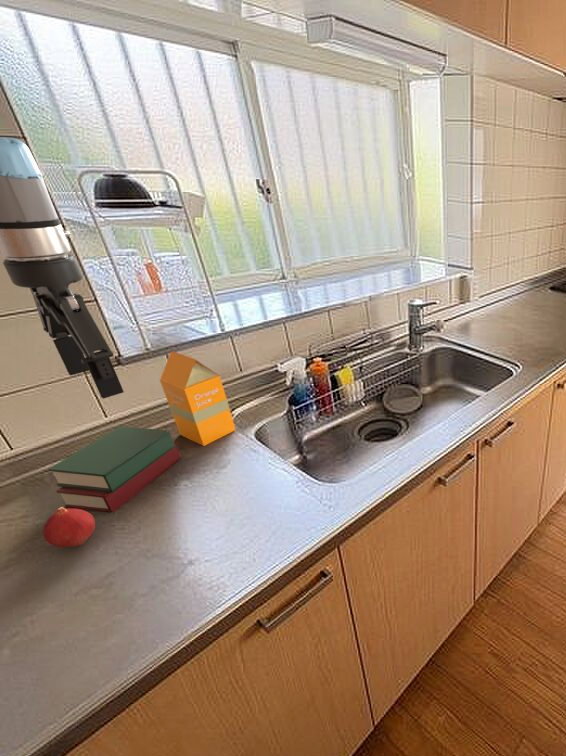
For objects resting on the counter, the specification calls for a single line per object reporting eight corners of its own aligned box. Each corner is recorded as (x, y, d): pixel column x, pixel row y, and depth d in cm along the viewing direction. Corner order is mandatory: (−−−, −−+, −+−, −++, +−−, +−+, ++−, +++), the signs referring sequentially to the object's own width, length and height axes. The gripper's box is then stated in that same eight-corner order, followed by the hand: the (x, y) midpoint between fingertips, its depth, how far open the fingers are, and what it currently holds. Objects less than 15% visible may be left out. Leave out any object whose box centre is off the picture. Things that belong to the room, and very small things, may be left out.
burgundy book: (65, 507, 76) (56, 490, 74) (141, 454, 91) (135, 439, 89) (112, 512, 76) (103, 495, 74) (181, 458, 90) (175, 443, 88)
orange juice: (203, 446, 94) (175, 366, 85) (179, 435, 97) (150, 356, 88) (236, 429, 101) (214, 353, 91) (213, 419, 104) (189, 344, 95)
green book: (57, 486, 75) (47, 469, 74) (127, 441, 88) (120, 425, 86) (113, 492, 75) (104, 474, 73) (175, 446, 87) (169, 430, 86)
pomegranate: (47, 563, 66) (23, 526, 62) (64, 536, 71) (42, 500, 67) (95, 552, 68) (74, 516, 65) (108, 527, 73) (89, 492, 69)
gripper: (106, 265, 59) (156, 396, 69) (43, 242, 70) (94, 357, 80) (32, 274, 54) (97, 415, 63) (-24, 247, 65) (39, 370, 74)
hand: (95, 383), depth 72 cm, fingers open, 13 cm apart
